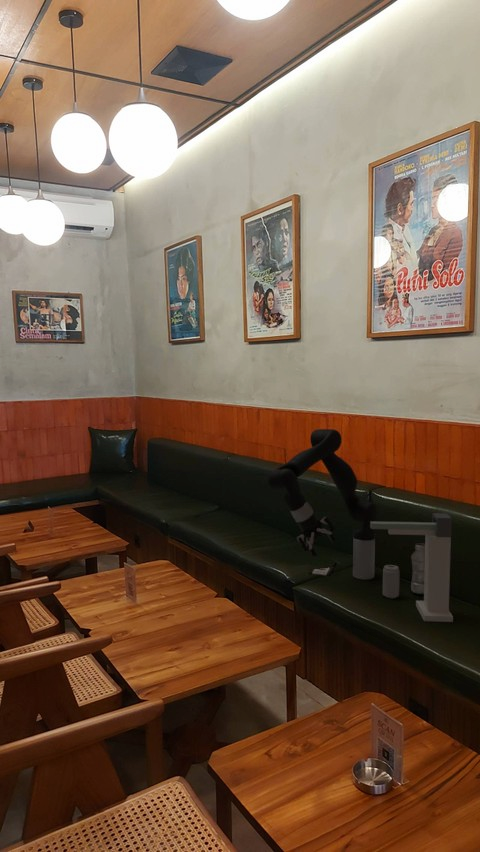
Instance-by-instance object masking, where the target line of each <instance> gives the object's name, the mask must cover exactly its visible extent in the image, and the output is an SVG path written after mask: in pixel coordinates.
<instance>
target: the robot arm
mask: <svg viewBox="0 0 480 852" xmlns="http://www.w3.org/2000/svg"><path fill="white" fill-rule="evenodd" d="M310 444H311V447H310V448H307V449H305V450H303V451H300V452H298V453H297V454H296V455H294V456H292V458H290V459H289V460H288V461H287V462H285V463H283V464H282V465H280V466H278V467H277V468H275V469H273V470H272V471H271V472H270V473H269V475H268V477H267V483H268V486H269V487H270V488H271V489H273V490H277V491H278V490H279V491H280V490H284V489H285V490H286V492H285V493H284V495H283V499H282V500H283V501H284V503H285V504H286V507H287V508H288V510H289V512H290V514H291V516H292V517H293V519H294V520H295V522H296V524H297V526H298V527H299V529H300V530H301V533H302V534H300V535H297V536H296V540H297V542H298V544H299V546H300V547H301V549H302V550H303V551H304V552H307V551H308V552H310V555H311V556H313V557H318V554H317V553H316V551H315V549H314V548H313V544H314V540H316V539H317V538H318V537H320V536H321V535H322V533H323V534H326V535H327V537H328V538H329V540H330V542H331V543H333V544H335V543H336V537H335V536H334V534H333V531H335V529H336V528H335V527H334V525H333V524H332V522H331V521H330V519H329V518H328V517H327V516H322V518H321V520H319V518H318V516H317V515H316V513H315V512H314V510H313V509H314V508H312V506H311V504H310V503H309V502H308V501H307V500H306V498H305V496H304V495H303V493H302V491H301V486H300V484H299V481H298V478H299V477H301V476H302V475H303V474H304V473H305V472H307V471H308V470H309V469H310V468H311V467H313V466H314V465H315V464H317V463H318V462H320V461H321V462H322V463H323V465H324V467H325V469H326V471H328V473H329V476H330V477H331V480H332V481H333V483H334V485H335V487H336V488H337V490H338V492H339V494H340V496H341V497H342V499H343V502H344V504H345V507H346V509H347V511H348V514H349V516H350V518H351V519H352V520H353V521H355V522H358V523H362V528H358V529H355V530H354V531H353V533H352V538H353V541H352V542H353V547H352V551H353V553H352V577H354V578H355V579H358V580H365V581H366V580H372V579H374V578H375V564H376V562H375V555H376V552H375V551H376V550H375V549H376V533H377V529H371V527H370V521H372V522H378V515H379V514H378V512H379V511H378V507H377V505H376V503H374V502H370V501H367V500H366V501H364V500H361V499H360V498H359V496H358V495H357V493H356V490H357V487H358V486H357V485H358V478H357V475H356V474H355V472H354V470H353V468H352V467H351V465H350V464H349V463H348V462H346V461H345V459H342V458H341V457H340V456H338V455H337V454H336V452H337V451H338V450H339V449H340V447H341V445H342V435H341V433H340V431H338V430H337V429H332V428H318V429H314V430H313V431H312V432H311V434H310ZM323 525H326V526H327V527H328V529H326V528H324V527H323ZM304 538H306V541H305V542H306V544H305V542H304V540H305V539H304Z"/></svg>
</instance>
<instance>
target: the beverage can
mask: <svg viewBox="0 0 480 852" xmlns="http://www.w3.org/2000/svg"><path fill="white" fill-rule="evenodd" d="M382 596H384V597H385V598H387V599H396V598H398V597H399V596H400V569H399V566H397V565H394V564H385V565H384V566H383V569H382Z"/></svg>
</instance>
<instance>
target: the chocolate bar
mask: <svg viewBox="0 0 480 852" xmlns="http://www.w3.org/2000/svg"><path fill="white" fill-rule="evenodd" d="M334 568H335V566H334V567H328V568H320V569H313V570H312V568H311V569H310V571H309V572H308V574H309V575H319V576H327V577H329V576H330V575H331V573H332V572H333V570H334Z"/></svg>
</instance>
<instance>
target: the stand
mask: <svg viewBox="0 0 480 852" xmlns="http://www.w3.org/2000/svg"><path fill="white" fill-rule="evenodd" d="M432 523H437V526H436V530H404V529H387V533H388V535H397V536H398V535H400V536H401V535H402V536H403V535H405V536H406V535H407V536H410V535H411V536H425V542H424V545H425V550H424V551H425V577H424V594H423V600H415V606H416V608H417V610H418V612H419V615H420V617H421V618H422V619H423V621H424V622H439V623H440V622H441V623H444V622H445V623H453V622H454V616H453V614H452V613H451V611H450V608H449V607H450V579H451V578H450V576H451V575H450V573H451V541H452V540H451V539H452V526H453V525H452V523H453V519H452V517H451V515H449V514H448V513H445V512H443V513H442V512H441V513H440V512H439V513H438V512H437V513H436V512H434V513H433V512H432Z"/></svg>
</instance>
